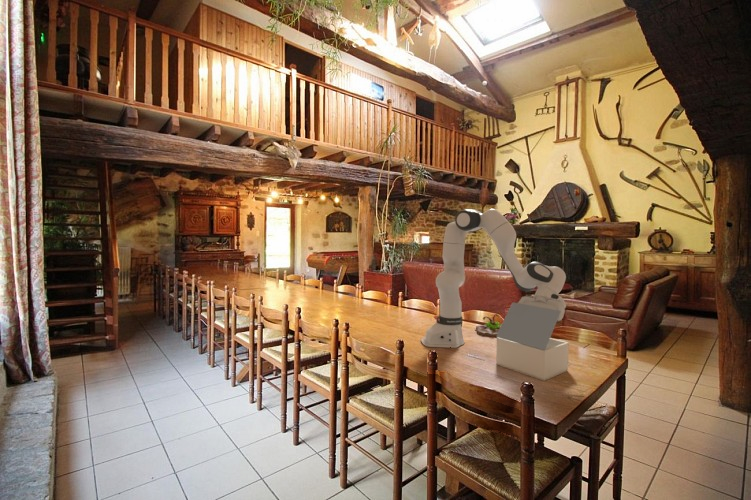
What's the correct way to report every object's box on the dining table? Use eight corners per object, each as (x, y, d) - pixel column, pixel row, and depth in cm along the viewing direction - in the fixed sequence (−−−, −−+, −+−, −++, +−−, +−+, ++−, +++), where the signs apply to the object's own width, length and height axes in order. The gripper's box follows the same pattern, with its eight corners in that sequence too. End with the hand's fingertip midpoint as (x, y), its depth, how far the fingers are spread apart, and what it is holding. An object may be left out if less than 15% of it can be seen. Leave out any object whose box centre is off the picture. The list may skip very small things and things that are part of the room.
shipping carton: (520, 355, 168) (521, 330, 168) (568, 370, 150) (568, 342, 150) (496, 364, 158) (496, 337, 157) (544, 381, 140) (544, 351, 139)
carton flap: (512, 302, 163) (512, 302, 163) (561, 311, 145) (560, 310, 145) (496, 336, 157) (496, 336, 157) (544, 350, 139) (544, 349, 139)
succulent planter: (514, 339, 196) (514, 319, 196) (477, 337, 200) (477, 317, 200) (508, 329, 216) (509, 311, 215) (475, 327, 220) (475, 309, 219)
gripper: (520, 290, 165) (507, 314, 160) (565, 297, 149) (552, 324, 143) (525, 299, 168) (513, 322, 163) (570, 306, 151) (557, 333, 146)
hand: (531, 323), depth 153 cm, fingers closed
